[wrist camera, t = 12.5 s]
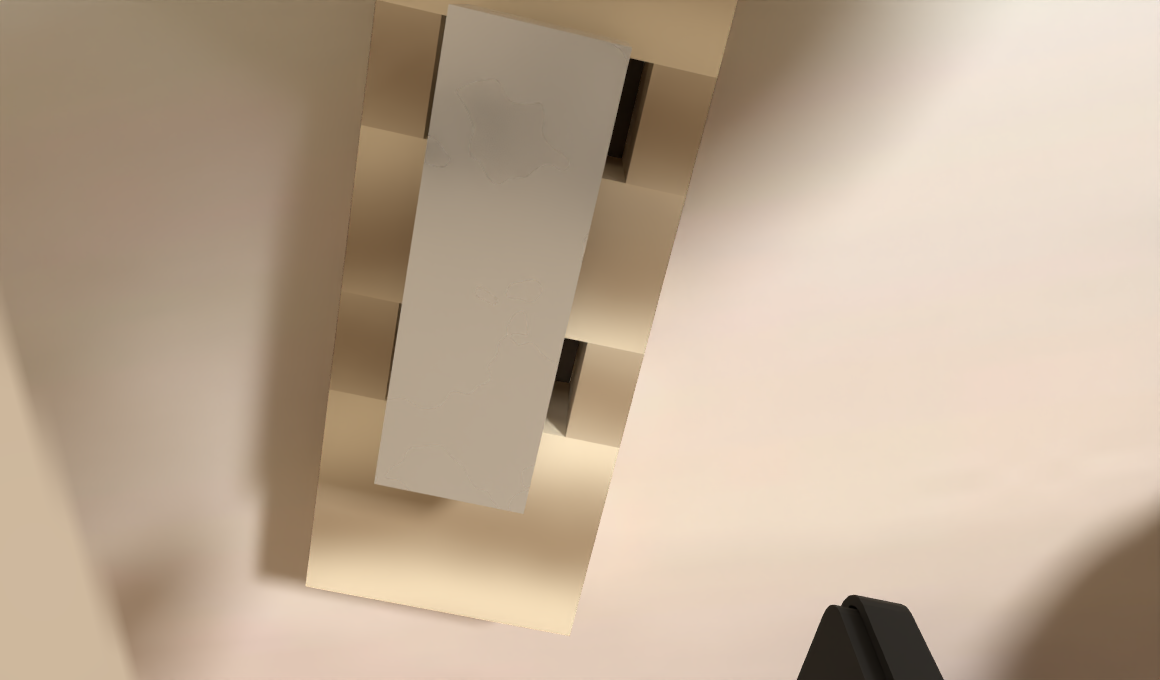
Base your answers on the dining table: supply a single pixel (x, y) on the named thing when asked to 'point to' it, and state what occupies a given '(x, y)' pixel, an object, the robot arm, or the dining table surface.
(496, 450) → the grey arched block
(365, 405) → the rail
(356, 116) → the dining table surface
